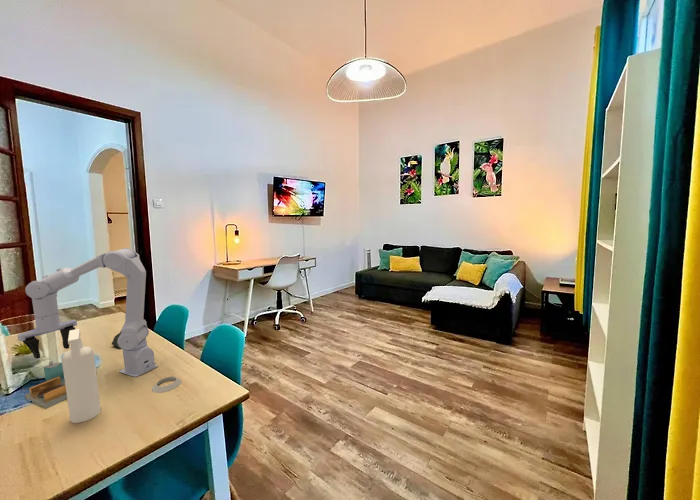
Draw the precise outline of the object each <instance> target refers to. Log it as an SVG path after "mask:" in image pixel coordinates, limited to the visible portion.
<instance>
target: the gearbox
mask: <svg viewBox="0 0 700 500" xmlns="http://www.w3.org/2000/svg"><path fill="white" fill-rule="evenodd" d="M28 389H29V392H28V393H26V394H24V397H25V400H26V399H28V400H30V401H29V402H31V401H32V402H31V403H33V402H34V403H33V404H35V403H36V404H35V405H38V406H39V407H42V408H44V409H48V408H49V407H52V406H54V405H57V404H59V403H61V402H63V401H65V400H67V393H66V386H65V379H64V378H63V379H60V377H56V378H54V379H51V380H49V381H46V380H45V381H44V382H42V383H39V384H36V385H33V386H31V387H29V388H28ZM28 400H27V401H28Z"/></svg>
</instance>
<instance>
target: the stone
mask: <svg viewBox="0 0 700 500" xmlns="http://www.w3.org/2000/svg"><path fill="white" fill-rule="evenodd" d="M120 335H121V330H120V331H119V333H117V334H115V336H114V337H113V340H112V342H111V345H112V346H115V347H116V348H118V349H119V350H123V349H122V348H120V347H119V345H118V343H117V341H118V338H119V336H120Z"/></svg>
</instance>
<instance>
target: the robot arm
mask: <svg viewBox="0 0 700 500" xmlns="http://www.w3.org/2000/svg"><path fill="white" fill-rule="evenodd" d="M99 268H102V269H104V268H108V269H109V270H111V271H114V272H116V273H119V274H122V275H123V276H124V277H125V278H126V297H125V317H124V319H125V320H124V324H123V325H122V328H121V330H120V331H121V335H120V336H119V338H118V341H117V343H118V345H119V347H120V348H122V349H121V350H122V354H123V355H122V356H123V365H124V367H123V369H120V370H119V371H118V372H119V373H121V374H125V375H128V376H130V377H133V378H137V377H140V376H141V375H143V374H146V373H147V372H149V371H152V370H154V369H156V368H158V367H159V366H158V365H157V364H156V362H155V353H154V350H153V349H152V348H150V347H149V346H148V342H147V338H148V336H149V333H150V330H149V328H148V325H147V321H146V319H144V316H145V315H144V313H145V297H146V296H145V295H146V283H147V282H146V281H147V280H146V279H147V270H146V269H145V266H144V265H143V263H142V261H141V258H140V253H139V254H138V253H137V252H136V251H135V250H133V249H131V248H128V247H125V248H121V249H118V250H111V251H108V252H106V253H102V254H99V255H96V256H94V257H92V258H91V259H88V260H86V261H85V262H82V263H81V264H79V265H76V266H75V267H60V268H57V269H56V271H55V272H53V273H51V274H49V275H48V274H46V275H42V278H41V279H39V280H32V281H31V282H29V283H28V284H27V285H26V287H25V294H26V296H28V297H29V298H31V303H32V309H33V315H34V322H35V326H36V328H33V329H30V330H28V331H25V332H22V333H19V334H17V340H18V342H23V344H25V346H26V347H27V348H28V350H30V351H31V353H32V355H33V358H35V359H37V360H38V359H41V353H40V339H38V338H37V337H39V336H42V335H46V334H49V333H53V332H57V331H59V332H60V334H61V335H60V336H61V338H62V346H63V347H62V348H63V349H66V350H68V349H70V346H71V344H69V345H68V337H69V331H70V330H75V329H76V326H78V322H77V321H78V320H76V319H72V320H67V321H61V320H60V319H61V318H60V313H59V307H58V306H59V305H58V300H57V299H58V298H57V297H58V292H59V291H60V290H63V289H65V288H67V287H70V286H71V285H73V284H75V283H77V282H78V281H79V280H80V277H81V276H83V275H84V274H87V273H90V272H92V271H94V270H96V269H99Z"/></svg>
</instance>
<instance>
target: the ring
mask: <svg viewBox="0 0 700 500" xmlns="http://www.w3.org/2000/svg"><path fill="white" fill-rule="evenodd" d="M170 381H174V382H172V383H170V384H167V385H162V386H159V385H160V384H163V383H165V382H170ZM180 385H182V379H180V378H179V377H176V376H167V377H163V378H161V379H160V380H157V382H156V383H155V384H154V385H153V386H152V388H151V392H152V393H155V394H162V393H163V394H164V393H167V392H170V391H172V390H174V389H176V388H178V387H179V386H180Z"/></svg>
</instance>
